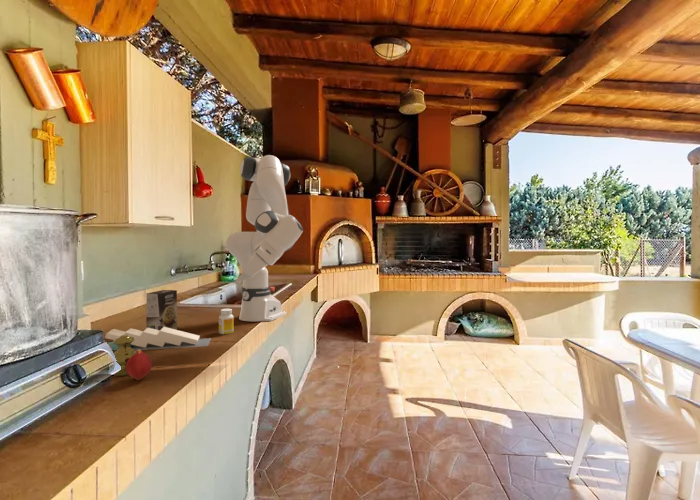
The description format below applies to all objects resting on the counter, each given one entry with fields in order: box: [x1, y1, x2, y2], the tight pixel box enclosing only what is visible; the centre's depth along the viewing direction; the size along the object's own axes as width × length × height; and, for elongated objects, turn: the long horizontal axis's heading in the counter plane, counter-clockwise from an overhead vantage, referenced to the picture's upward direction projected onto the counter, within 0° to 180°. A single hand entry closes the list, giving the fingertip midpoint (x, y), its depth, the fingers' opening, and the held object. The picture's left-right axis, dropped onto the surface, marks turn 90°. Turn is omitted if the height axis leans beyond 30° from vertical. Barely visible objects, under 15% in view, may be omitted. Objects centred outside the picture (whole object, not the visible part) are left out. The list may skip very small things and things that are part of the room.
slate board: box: [131, 337, 212, 351], centre depth 118 cm, size 25×9×1 cm, turn 105°
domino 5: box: [158, 327, 201, 345], centre depth 119 cm, size 2×5×12 cm
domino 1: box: [104, 328, 149, 348], centre depth 115 cm, size 2×5×12 cm
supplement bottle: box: [218, 308, 235, 335], centre depth 133 cm, size 5×5×10 cm
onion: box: [126, 350, 153, 381], centre depth 92 cm, size 6×6×8 cm
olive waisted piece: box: [112, 335, 136, 377], centre depth 97 cm, size 7×7×10 cm
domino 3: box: [124, 327, 166, 347], centre depth 116 cm, size 2×5×12 cm
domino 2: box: [107, 341, 133, 351], centre depth 114 cm, size 2×5×12 cm
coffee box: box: [145, 289, 178, 330], centre depth 133 cm, size 9×6×16 cm
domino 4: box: [141, 328, 182, 346], centre depth 118 cm, size 2×5×12 cm
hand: (237, 282), depth 123 cm, fingers closed
